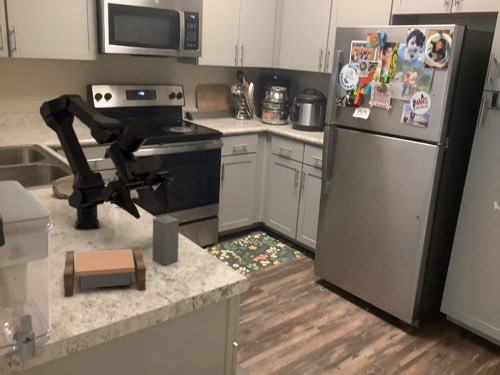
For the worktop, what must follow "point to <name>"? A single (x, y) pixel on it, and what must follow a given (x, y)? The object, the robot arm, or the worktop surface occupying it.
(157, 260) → the gray rectangular block
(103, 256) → the trapdoor
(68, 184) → the decorative stone
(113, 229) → the worktop surface
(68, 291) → the brown bracket
